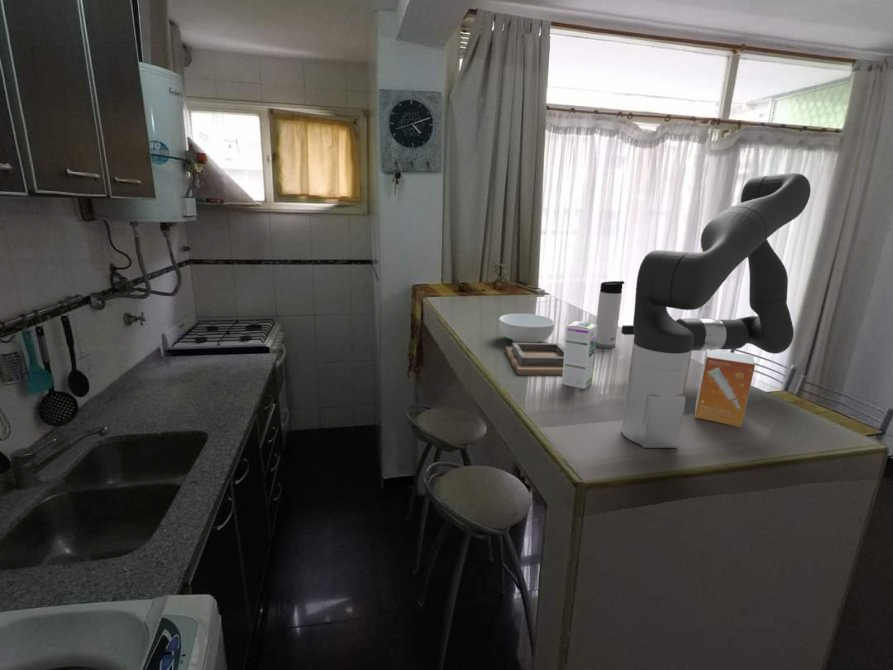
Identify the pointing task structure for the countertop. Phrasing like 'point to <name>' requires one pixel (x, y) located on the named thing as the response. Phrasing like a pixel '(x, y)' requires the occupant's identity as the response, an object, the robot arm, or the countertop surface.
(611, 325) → the travel mug
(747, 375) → the small box
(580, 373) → the syrup box
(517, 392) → the countertop surface
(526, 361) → the wooden tray
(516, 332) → the cereal bowl
